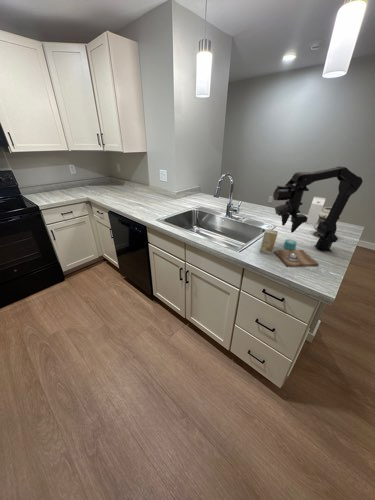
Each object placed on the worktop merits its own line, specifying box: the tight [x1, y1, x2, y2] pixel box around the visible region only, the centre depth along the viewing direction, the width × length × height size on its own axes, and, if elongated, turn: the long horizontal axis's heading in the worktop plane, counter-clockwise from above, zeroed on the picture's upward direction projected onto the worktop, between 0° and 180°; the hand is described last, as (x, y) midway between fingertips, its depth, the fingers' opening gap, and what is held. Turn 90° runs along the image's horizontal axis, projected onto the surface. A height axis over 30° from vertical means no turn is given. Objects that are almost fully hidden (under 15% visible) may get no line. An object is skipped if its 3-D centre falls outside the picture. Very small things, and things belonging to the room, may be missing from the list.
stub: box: [286, 252, 298, 262], centre depth 100 cm, size 5×5×3 cm
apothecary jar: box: [312, 206, 342, 239], centre depth 124 cm, size 12×12×18 cm
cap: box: [282, 238, 298, 250], centre depth 112 cm, size 6×6×4 cm
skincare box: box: [259, 228, 279, 255], centre depth 106 cm, size 6×4×12 cm
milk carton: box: [304, 196, 326, 226], centre depth 144 cm, size 7×7×19 cm
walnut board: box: [273, 249, 320, 268], centre depth 103 cm, size 16×14×1 cm
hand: (287, 228), depth 106 cm, fingers open, 9 cm apart
